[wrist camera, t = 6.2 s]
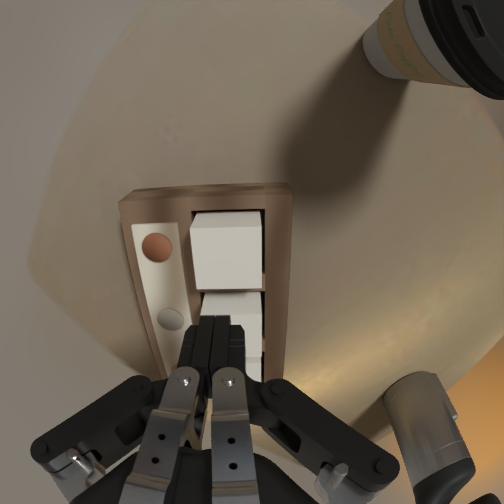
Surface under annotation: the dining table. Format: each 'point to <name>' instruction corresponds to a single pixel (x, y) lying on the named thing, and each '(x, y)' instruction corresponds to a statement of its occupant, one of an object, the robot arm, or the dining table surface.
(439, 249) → the dining table surface
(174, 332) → the button panel
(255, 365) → the button
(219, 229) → the button
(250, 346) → the button
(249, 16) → the dining table surface
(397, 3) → the coffee cup
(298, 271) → the dining table surface
